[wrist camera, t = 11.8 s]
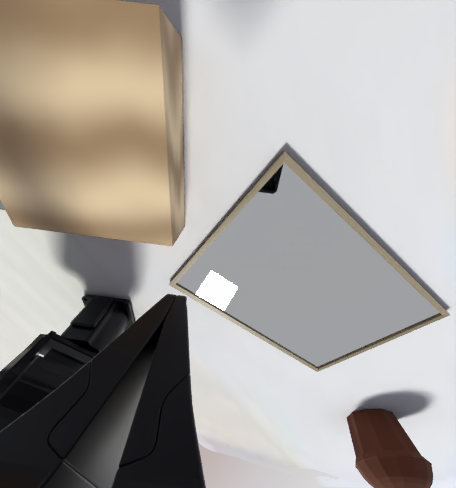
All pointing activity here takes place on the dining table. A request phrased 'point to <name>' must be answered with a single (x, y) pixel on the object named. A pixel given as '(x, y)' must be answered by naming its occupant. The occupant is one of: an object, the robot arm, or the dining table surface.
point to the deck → (92, 119)
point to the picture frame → (304, 274)
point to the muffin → (387, 451)
